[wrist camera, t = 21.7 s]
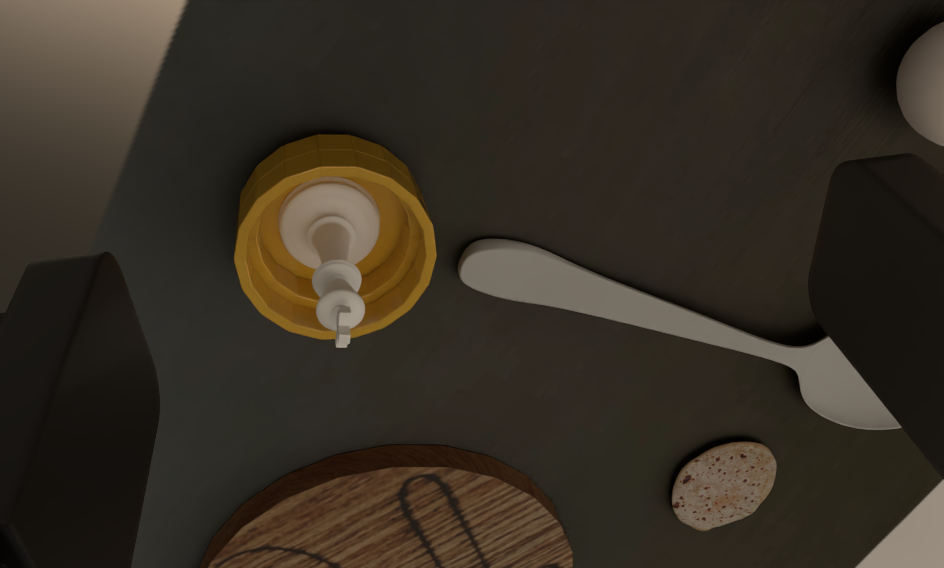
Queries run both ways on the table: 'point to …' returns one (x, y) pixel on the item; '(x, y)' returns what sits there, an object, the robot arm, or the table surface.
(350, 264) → the chess piece
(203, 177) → the table surface
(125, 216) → the table surface
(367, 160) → the bowl
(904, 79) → the egg
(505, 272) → the spoon
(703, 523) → the flatbread
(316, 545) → the trivet
